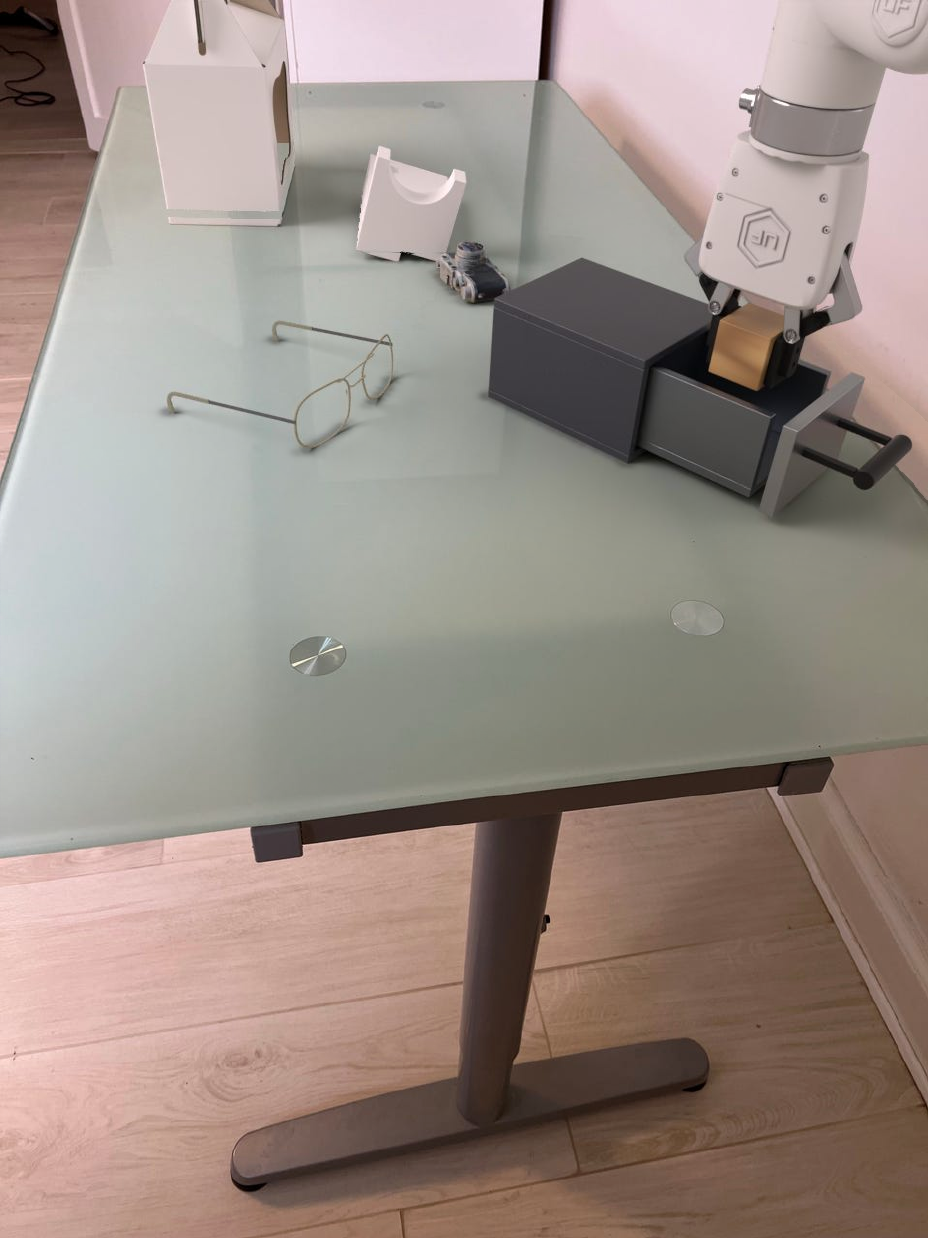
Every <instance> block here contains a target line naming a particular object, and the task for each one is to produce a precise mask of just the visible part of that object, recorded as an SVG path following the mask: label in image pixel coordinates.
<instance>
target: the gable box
mask: <svg viewBox="0 0 928 1238" xmlns="http://www.w3.org/2000/svg"><path fill="white" fill-rule="evenodd" d="M142 68H143V74H144V80H145V81H144V82H145V85H146V93H147V98H148V103H149V110H150V116H151V122H152V127H153V134H154V135H153V136H154V140H155V146H156V147H155V148H156V152H157V158H158V165H159V171H160V177H161V183H162V188H163V189H162V190H163V194H164V199H165V205H166V206H165V207H166V210H167V209H175V210H176V209H184V210H186V209H187V210H189V209H191V210H193V209H195V210H214V211H217V210H219V211H221V210H222V211H233V210H234V211H236V210H237V211H261V212H262V211H263V212H266V211H269V212H270V211H279V209H280V206H281V200H282V196H283V191H284V186H285V182H286V177H287V174H288V169H289V165H290V160H291V154H292V150H293V145H294V146H295V138H294V124H293V113H292V112H293V111H292V99H291V86H290V74H289V62H288V48H287V34H286V23H285V20H284V19H282V17H281V15H279V13H278V11H277V9H276V8H275V7H274V5H273V4H272V2H271V1H270V0H170V2H169V4H168V7H167V9H166V11H165V14H164V16H163V19H162V20H161V23H160V26H159V28H158V31H157V33H156V35H155V37H154V40H153V42H152V45H151V47H150V49H149V52H148V54H147V56H146V58H145V59H144V60H143V62H142ZM277 143H289V154H288V157H287V158H285V160H284V164H283V170H282V180H281V181H280V171H279V158H278V148H277ZM167 218H168V223H169V224H170V225H179V226H180V225H184V226H228V227H229V226H231V227H232V226H233V227H234V226H236V227H280V226H281V225H282V222H283V221H282V220H283V217H281V218H280V219H231V218H182V217H168V216H167Z"/></svg>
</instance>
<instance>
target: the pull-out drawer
mask: <svg viewBox="0 0 928 1238" xmlns="http://www.w3.org/2000/svg"><path fill="white" fill-rule="evenodd" d="M708 334H709V330H708V331H706V332H705V333H703V334H701V335H700V336H698V337H697V338H695V339H693V340H692V341H690V342H688V343H687V344H685V345H684V346H682V347H680V348H679V349H677V350H675V351H674V352H672V353H670V354H669V355H667V356H666V357H664V358H662V359H661V360H659V361H657V362H656V363H654V364H653V365H651V366H649V372H648V377H647V383H646V388H645V394H644V400H643V405H642V411H641V416H640V422H639V428H638V433H637V439H636V444H635V445H637V446H639V447H641V448H643V449H645V450H646V451H648V452H650V453H651V454H654V455H656V456H658V457H660V458H663V459H664V460H667V461H669V462H672V463H673V464H675V465H678V466H680V467H682V468H684V469H686V470H688V471H690V472H693V473H694V474H697V475H699V476H702V477H703V478H706V479H708V480H710V481H711V482H714V483H716V484H718V485H721V486H723V487H725V488H727V489H729V490H732V491H734V492H736V493H738V494H740V495H742V496H744V497H747V498H750V497H751V496H752V495H754V494H755V493H756V492H757V491H759V490H760V489H761V488H763V486H765V487H764V490H763V494H762V497H761V502H760V504H759V507H758V512H759V513H761V514H763V515H765V516H767V517H769V518H773V517H774V516H775V515H777V513H778V512H780V511H781V510H782V509H783V508H784V507H786V506H787V505H788V503H790V502H791V501H792V500H793V499H795V497H797V496H798V495H799V494H800V493H801V492H803V490H805V489H806V488H807V487H808V486H810V485H811V484H812V483H813V482H815V480H817V478H819V476H821V475H822V474H823V473H824V472H825V471H826V470H827V469H831V470H833V471H835V472H838V473H840V474H843V475H845V476H847V477H849V478H852V483H853V485H854V486H855V487H856V488H857V489H859V490H861V491H867V490H871V489H872V488H873V487H874V486H875V485H876V484H877V483H878V482H879V481H880V480H881V479H883V477H885V476H886V474H888V472H889V471H891V470H892V469H893V468H894V467H895V466H896V465H897V464H898V463H899V462H900V461H901V460H902V459H904V457H905V456H907V455H908V453H909V452H911V451H912V448H913V441H912V440H911V438H910V437H909V436H907V435H905V434H897V435H895V436H893V437H892V436H889V435H886V434H883V433H881V432H879V431H876V430H874V429H871V428H869V427H867V426H864V425H862V424H859V423H856V422H854V421H852V418H853V415H854V413H855V409H856V406H857V403H858V400H859V397H860V394H861V392H862V389H863V386H864V382H865V381H866V376H863V375H860V374H858V373H855V372H853V371H851V372H850V373H849V374H847V375H846V376H845V377H843V378H842V379H841V380H840V381H839V382H837V383H836V384H834V385H833V386H832V387H831V388H829V389H828V390H827V388H828V384H829V382H830V378H831V375H832V371H831V370H829V369H826V368H823V367H820V366H818V365H816V364H813V363H810V362H807V361H804V360H802V359H801V358H799V361H798V364H797V367H796V370H795V372H794V373H793V375H792V376H791V377H789V378H785V379H784V380H783V381H781V382H780V383H778V384H777V385H776V386H774V387H773V388H772V389H770V388H768V387H765V386H764V387H762V388H761V389H759V390H758V391H755V390H753V389H750V388H748V387H745V386H743V385H740V384H738V383H735V382H733V381H731V380H728V379H726V378H723V377H721V376H718V375H716V374H713V373H711V372H709V367H710V364H708V363H706V359H707V355H708V350H709V347H707V345H706V343H707V338H708ZM847 432H850V433H851V434H852V433H853V434H855V435H857V436H860V437H862V438H864V439H867V440H869V441H872V442H874V443H877V444H879V445H882V446H883V447H882V448H880V449H879V450H878V451H877V452H876V453H875V454H873V456H871V457H870V458H869V459H868V460H867V461H866V462H865V463H864V464H863V465H862V466H861V467H860V468H858V467H856V466H854V465H851V464H849V463H846V462H844V461H841V460H839V455H840V452H841V450H842V448H843V444H844V441H845V438H846V435H847Z"/></svg>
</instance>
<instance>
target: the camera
mask: <svg viewBox="0 0 928 1238" xmlns="http://www.w3.org/2000/svg"><path fill="white" fill-rule="evenodd" d="M434 264H435V268H436V269H438V270H439V277H440V279H441V280H442V281H443V282H444V283H445V284H446V285H449V286H450V289H453V290H455V291H457V292H458V293H460V295H461V298H462V300H465V301H466V300H468V301H469V302H470V303H474V304H475V303H482V302H489V301H494V298H496V297H498V296H500V295H503V294H505V293H507V292H509V291H511V287H510V282H509V280H508V277H506V276H505V274H504V273H502V272H501V271H500V270H499V269H498V266H497V265H495V264H494V263H493V262H492V261H491V259H489V256H488V254H487V252H486V248H485V246H484V245H483V244H482V243H478V242H475V241H472V240H471V241H470V240H466V241H461V242H459V243H457V247H456V251H452V252H446V253H444V254H442V256H441V257H440V258H439V260H438V261H435V263H434ZM436 266H437V267H440V268H437V267H436ZM444 274H445V275H446V276H447V277H448V278H447V277H446V276H445V275H444Z"/></svg>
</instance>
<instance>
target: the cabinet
mask: <svg viewBox="0 0 928 1238" xmlns="http://www.w3.org/2000/svg"><path fill="white" fill-rule="evenodd" d="M708 304H709V303H706V302H704V301H701V300H698V299H695V298H694V297H690V296H687V295H685V294H682V293H679V292H677V291H674V290H672V289H668V288H666V287H664V286H662V285H661V286H660V285H658V284H655V283H652V282H649V281H647V280H644V279H641V278H638V277H636V276H634V275H630V274H628V273H625V272H622V271H619V270H617V269H614V268H612V267H609V266H606V265H603V264H601V263H598V262H595V261H592V260H590V259H588V258H584V257H580V258H578V259H575V260H573V261H571V262H569V263H567V264H565V265H562V266H560V267H558V268H556V269H554V270H552V271H550V272H548V273H545V274H544V275H543V274H542V275H541V276H539V277H537V278H535V279H533V280H530V281H528V282H526V283H524V284H522V285H520V286H518V287H515V288H513V289H512V290H511V289H510V291H509V292H507V293H505V294H503V295H500V296H498V297H496V298H494V300H493V307H492V308H493V310H492V324H491V325H492V327H491V328H492V329H491V346H490V360H489V361H490V362H489V379H488V380H489V381H488V398H490V399H491V400H493V401H497V402H498V403H499V404H503V405H504V406H506V407H508V408H511V409H512V410H515V411H516V412H519V413H521V414H523V415H526V416H528V417H530V418H531V419H534V420H535V421H538V422H540V423H543V424H544V425H546V426H548V427H550V428H553V429H555V430H557V431H559V432H561V433H563V434H565V435H567V436H569V437H572V438H573V439H576V440H577V441H580V442H581V443H584V444H586V445H588V446H590V447H592V448H595V449H596V450H598V451H600V452H602V453H604V454H607V455H609V456H611V457H613V458H615V459H617V460H619V461H622V462H623V463H626V464H629V463H631V462H632V461H633V460H636V458H638V457H639V456H641V455H642V454H644V453H645V452H646V451H647V450H645V449H643V448H641V447H639V446H637V445H635V444H636V439H637V433H638V428H639V422H640V416H641V411H642V405H643V400H644V394H645V388H646V383H647V377H648V372H649V366H651V365H653V364H654V363H656V362H657V361H659V360H661V359H662V358H664V357H666V356H667V355H669V354H670V353H672V352H674V351H675V350H677V349H679V348H680V347H682V346H684V345H685V344H687V343H688V342H690V341H692V340H693V339H695V338H697V337H698V336H700V335H701V334H703V333H705V332H706V331H708V330H709V329H710V325H711V320H712V316H713V314H711V313H710V312H709V310H708Z"/></svg>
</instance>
